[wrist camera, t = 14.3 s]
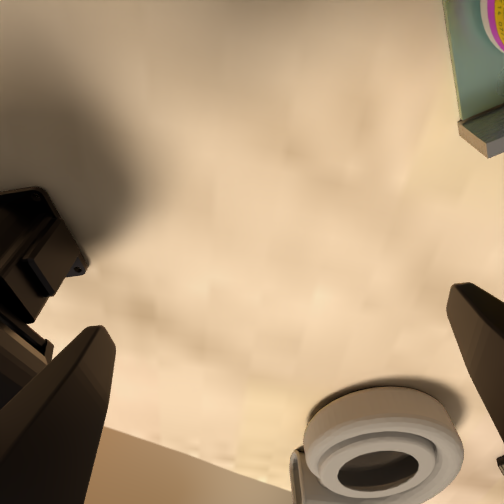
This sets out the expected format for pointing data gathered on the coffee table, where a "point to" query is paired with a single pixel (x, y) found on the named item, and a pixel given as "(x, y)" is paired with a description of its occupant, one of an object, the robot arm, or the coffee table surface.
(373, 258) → the coffee table surface
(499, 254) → the coffee table surface
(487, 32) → the supplement bottle
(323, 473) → the turbocharger housing
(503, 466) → the portable cd player
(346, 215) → the coffee table surface
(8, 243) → the robot arm
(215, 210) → the coffee table surface
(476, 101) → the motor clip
